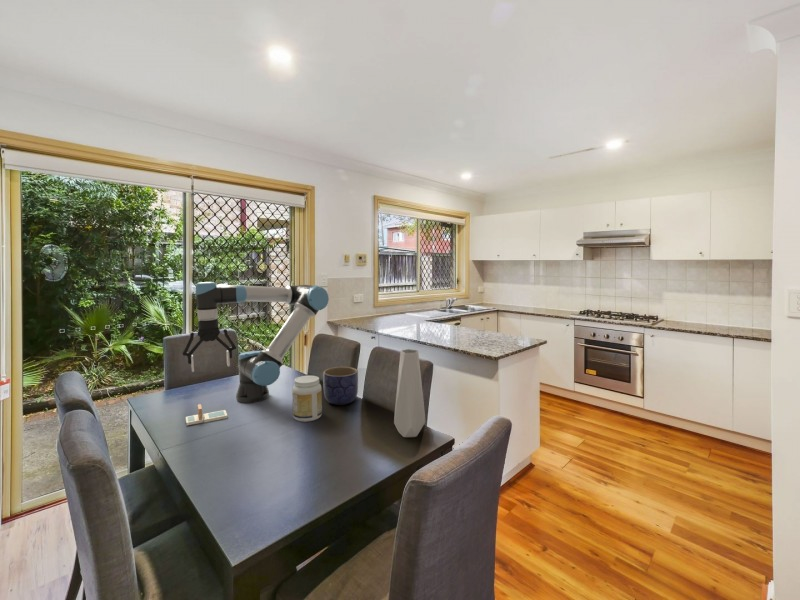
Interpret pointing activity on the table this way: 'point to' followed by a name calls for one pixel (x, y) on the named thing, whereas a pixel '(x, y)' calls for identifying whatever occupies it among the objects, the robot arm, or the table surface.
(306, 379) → the supplement tub
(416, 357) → the vase
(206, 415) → the cream tablet with screen
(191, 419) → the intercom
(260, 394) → the robot arm
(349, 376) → the planter
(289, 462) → the table surface
